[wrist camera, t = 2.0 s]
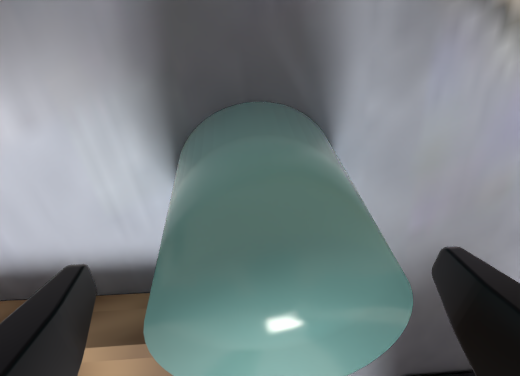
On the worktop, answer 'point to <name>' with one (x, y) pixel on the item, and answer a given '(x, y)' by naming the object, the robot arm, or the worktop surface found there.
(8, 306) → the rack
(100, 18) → the worktop surface
